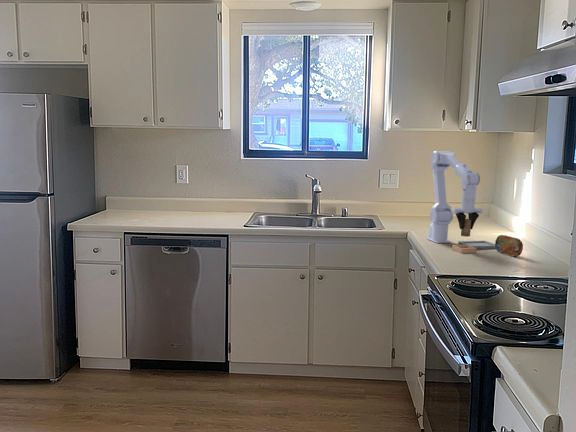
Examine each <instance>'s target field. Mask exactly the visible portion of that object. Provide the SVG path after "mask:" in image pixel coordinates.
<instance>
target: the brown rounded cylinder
mask: <svg viewBox="0 0 576 432" xmlns="http://www.w3.org/2000/svg"><path fill="white" fill-rule="evenodd" d="M460 230H461V231H460V237H466V238H467V237H470V236H471V230H472V229H471V219H469V218H465V222H464V229H460Z"/></svg>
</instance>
